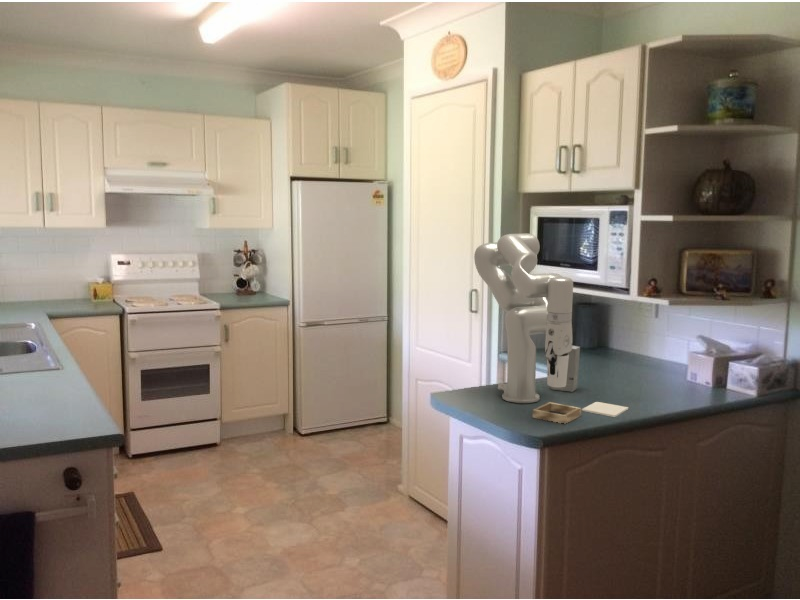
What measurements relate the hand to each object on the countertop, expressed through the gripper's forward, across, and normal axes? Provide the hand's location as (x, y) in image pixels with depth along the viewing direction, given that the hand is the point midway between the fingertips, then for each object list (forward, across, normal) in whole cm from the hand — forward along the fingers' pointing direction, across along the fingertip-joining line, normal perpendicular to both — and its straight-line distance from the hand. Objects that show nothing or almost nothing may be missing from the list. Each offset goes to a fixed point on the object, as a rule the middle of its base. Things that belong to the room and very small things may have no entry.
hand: (556, 374), depth 223 cm
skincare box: (+14, +32, +12) cm, 37 cm away
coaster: (+13, +16, -10) cm, 23 cm away
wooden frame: (+13, 0, -1) cm, 13 cm away
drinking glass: (+4, 0, 0) cm, 4 cm away
